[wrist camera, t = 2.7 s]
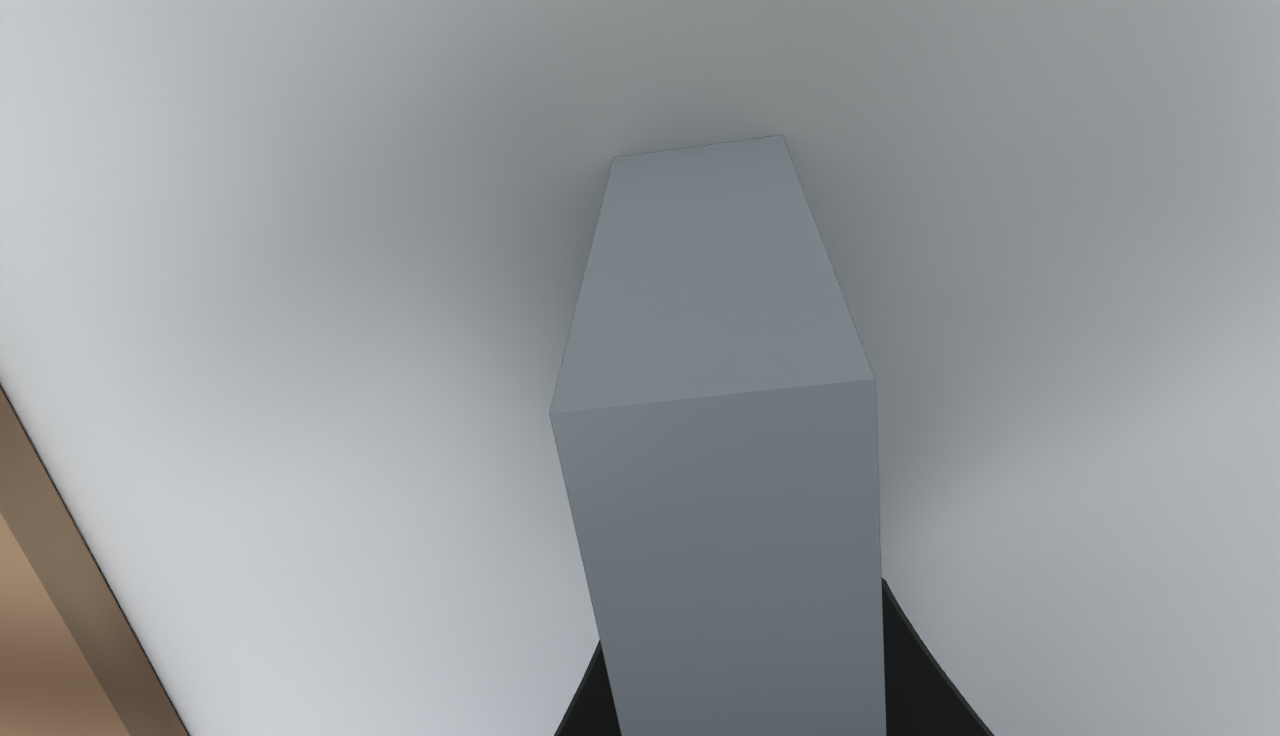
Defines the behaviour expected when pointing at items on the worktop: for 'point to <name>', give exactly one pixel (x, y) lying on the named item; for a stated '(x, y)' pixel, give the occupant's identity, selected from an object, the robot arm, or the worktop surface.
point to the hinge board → (62, 619)
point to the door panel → (723, 454)
